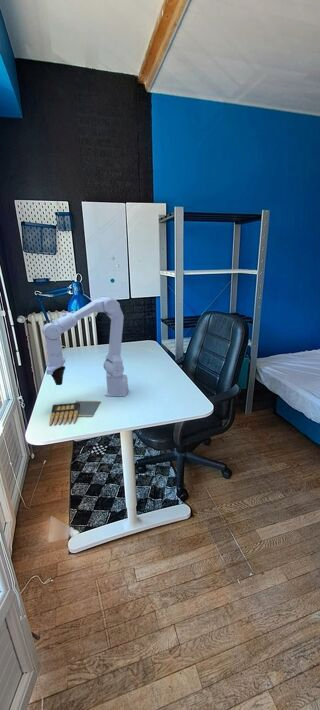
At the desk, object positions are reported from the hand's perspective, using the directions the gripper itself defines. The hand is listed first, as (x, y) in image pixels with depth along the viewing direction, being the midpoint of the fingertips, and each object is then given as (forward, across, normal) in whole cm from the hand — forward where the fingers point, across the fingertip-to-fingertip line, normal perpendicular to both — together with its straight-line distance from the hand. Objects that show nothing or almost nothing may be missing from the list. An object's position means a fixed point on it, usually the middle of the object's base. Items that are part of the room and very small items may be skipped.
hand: (59, 384), depth 123 cm
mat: (+10, +2, +10) cm, 14 cm away
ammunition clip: (+8, +3, +3) cm, 9 cm away
